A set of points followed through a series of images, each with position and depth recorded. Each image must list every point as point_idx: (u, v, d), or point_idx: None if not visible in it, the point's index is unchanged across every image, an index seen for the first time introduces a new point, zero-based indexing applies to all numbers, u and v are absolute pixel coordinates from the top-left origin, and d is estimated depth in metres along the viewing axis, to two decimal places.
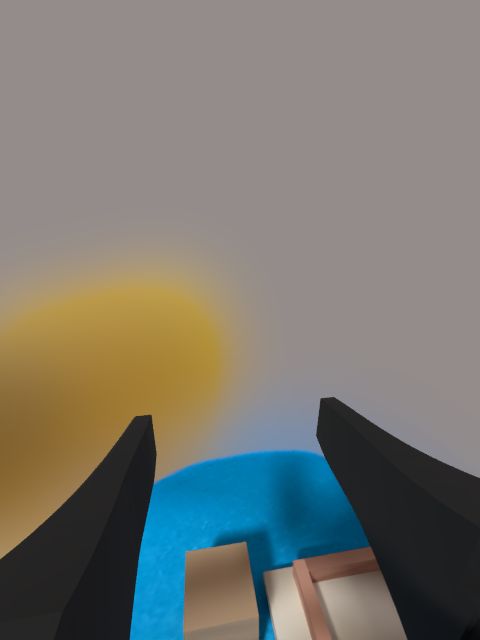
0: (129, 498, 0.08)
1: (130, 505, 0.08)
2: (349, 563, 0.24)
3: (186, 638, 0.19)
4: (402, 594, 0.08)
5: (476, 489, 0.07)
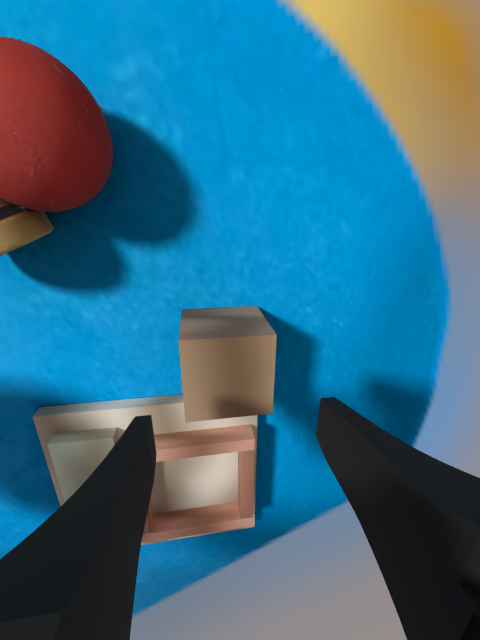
0: (129, 498, 0.08)
1: (130, 505, 0.08)
2: (241, 488, 0.22)
3: None
4: (402, 594, 0.08)
5: (476, 489, 0.07)
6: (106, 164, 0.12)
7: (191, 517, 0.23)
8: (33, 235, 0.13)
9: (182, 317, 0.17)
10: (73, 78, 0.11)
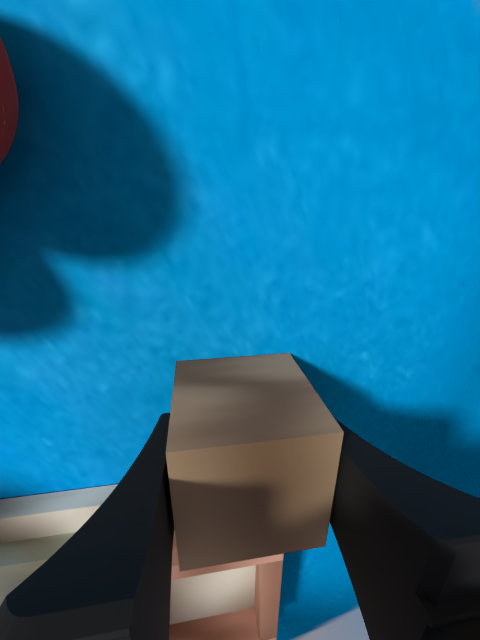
0: (166, 493, 0.08)
1: (166, 500, 0.08)
2: (261, 607, 0.15)
3: None
4: (367, 601, 0.08)
5: (437, 495, 0.07)
6: None
7: (190, 638, 0.16)
8: None
9: (175, 382, 0.11)
10: None
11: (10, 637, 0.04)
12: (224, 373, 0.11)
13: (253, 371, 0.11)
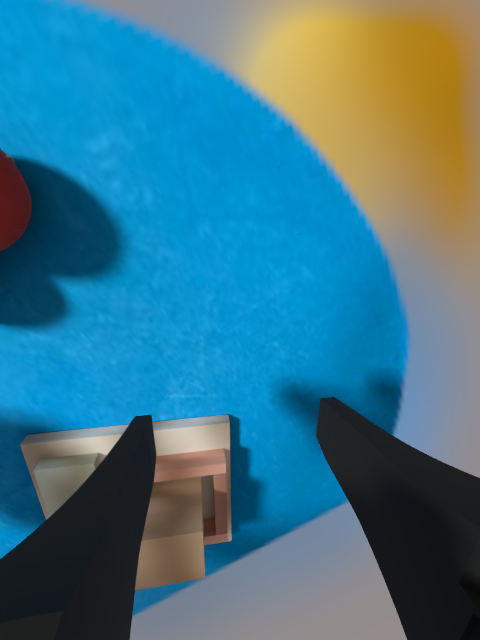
0: (129, 498, 0.08)
1: (130, 505, 0.08)
2: (215, 508, 0.23)
3: None
4: (402, 594, 0.08)
5: (476, 489, 0.07)
6: (19, 209, 0.13)
7: None
8: None
9: None
10: None
11: None
12: (161, 487, 0.22)
13: (176, 485, 0.22)
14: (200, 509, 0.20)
